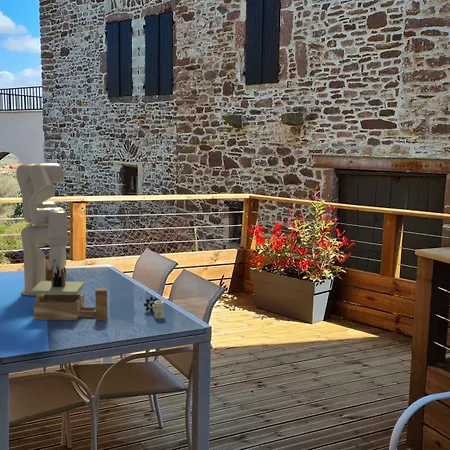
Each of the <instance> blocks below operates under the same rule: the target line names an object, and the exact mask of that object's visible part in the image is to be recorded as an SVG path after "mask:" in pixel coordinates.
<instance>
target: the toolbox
mask: <svg viewBox="0 0 450 450" xmlns="http://www.w3.org/2000/svg"><path fill="white" fill-rule="evenodd" d="M79 318H96V306H85V294H84V293H78V294H77V295H71V294H42V295H41V296H40V297H39V298H38V299H37V298H36V300H35V301H33V320H35V319H36V320H38V321H39V320H41V321H42V320H46V321H52V320H53V321H55V320H56V321H57V320H58V321H61V320H62V321H63V320H64V321H77V320H79Z"/></svg>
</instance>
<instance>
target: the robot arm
mask: <svg viewBox="0 0 450 450" xmlns="http://www.w3.org/2000/svg"><path fill="white" fill-rule="evenodd" d="M15 175H16V180H17V184H18V187H19V189H20V191H21V202H22V214H23V215H22V216H23V219H24V221H25V222H27V223H31V224H33V225H27V226H25V227H23V228H22V229H21V231H20V232H21V233H20V239H21V243H22V251H23V271H24V272H23V276H24V277H23V279H24V282H23V283H24V288H23V289H22V290H21V291H20V294H21V295H22V296H26V297H28V296H29V297H37V295H42V294H34V293H31V290H32V289H33V288H34V287H35V286H36V285H38V284H39V283H40V282H41V281H46V267H45V259H46V255H45V253H44V251H43V250H42V249H41V248H40V247H43V246H49V251H48V252H49V254H48V255H49V257H48V260H49V270H52V269H53V283H54V286H55V287H61V286H62V277H61V273H62V274H64V267H65V268H66V265H67V246H68V245H69V242H68V241H69V239H68V238H69V236H68V235H69V231H68V230H69V229H68V227H69V224H68V223H69V222H68V219H69V216H68V212H67V211H66V210H65V208H63V207H59V206H58V204H57V203H56V202H54V201H51V200H50V199H52V198H53V197H54V195H55V194H56V187H55V183H56V184H57V183H62V182H63V181H64V179H65V172H64V168H63V166H62V165H61V164H59V163H25V164H20V165H18V166H17V167H16V173H15ZM48 200H49V201H48Z"/></svg>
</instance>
